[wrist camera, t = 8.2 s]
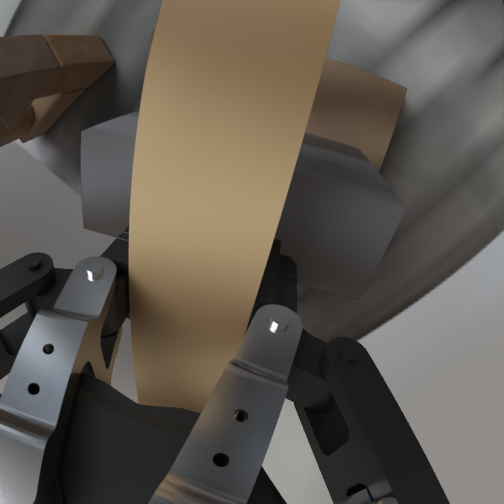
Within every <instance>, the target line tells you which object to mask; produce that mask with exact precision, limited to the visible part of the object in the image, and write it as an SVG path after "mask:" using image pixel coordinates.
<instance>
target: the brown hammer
mask: <svg viewBox="0 0 504 504" xmlns="http://www.w3.org/2000/svg"><path fill="white" fill-rule="evenodd" d="M114 63H115V62H114V60H113V58H112V57H111V55H110V53H109V52H108V50H107V48H106V47H105V45H104V43H103V42H102V40H101V38H100V37H99V36H93V35H67V34H49V35H44V36H43V35H42V34H36V35H18V36H7V37H0V147H1V146H4V145H6V144H8V143H10V142H12V141H14V140H17V139H19V138H20V140H21V142H22V143H25V142H27V141H29V140H31V139H34V138H36V137H38V136H41V135H43V134H45V133H46V132H47V131H48V130H49V129H50V127H51V126H52V125H53V124H54V123H55V122H56V121H57V120H58V118H59V117H60V116H61V115H62V114H63V113H64V112H65V111H66V110H67V109H68V108H69V107H70V106H71V105H72V103H73V102H74V101H75V100H76V99H77V98H78V97H79V96H80V95H81V94H82V93H83V92H84V91H85V90H86V88H87V87H90V86H91V85H92V84H93V83H94V82H95V81H96V80H97V79H98V78H99V77H101V76H102V75H103V74H104V73H105V72H106V71H107V70H108V69H110V68H111V67H112V66H113V65H114Z"/></svg>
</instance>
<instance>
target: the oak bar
mask: <svg viewBox="0 0 504 504" xmlns="http://www.w3.org/2000/svg"><path fill="white" fill-rule="evenodd" d="M339 4H340V0H163V3H162V6H161V10H160V14H159V17H158V21H157V25H156V29H155V33H154V37H153V42H152V46H151V51H150V55H149V60H148V65H147V70H146V75H145V81H144V86H143V92H142V98H141V104H140V111H139V118H138V125H137V133H136V141H135V150H134V160H133V171H132V184H131V199H130V219H129V301H130V321H131V335H132V349H133V359H134V369H135V378H136V386H137V394H138V402H139V404H141V405H151V406H162V407H175V408H183V409H187V410H191V411H194V412H198V413H202V411H203V409H204V407H205V405H206V403H207V401H208V400H209V398H210V396H211V394H212V392H213V390H214V388H215V386H216V384H217V383H218V381H219V379H220V377H221V375H222V373H223V371H224V369H225V367H226V365H227V364H228V362H229V361H230V360H232V359H233V358H234V356H235V354H236V352H237V350H238V348H239V346H240V344H241V342H242V340H243V338H244V335H245V331H246V328H247V325H248V322H249V319H250V315H251V312H252V309H253V306H254V303H255V299H256V296H257V293H258V290H259V286H260V283H261V280H262V276H263V273H264V270H265V267H266V263H267V260H268V257H269V253H270V250H271V247H272V243H273V240H274V237H275V233H276V230H277V227H278V223H279V220H280V217H281V213H282V210H283V206H284V203H285V200H286V196H287V193H288V189H289V186H290V182H291V179H292V176H293V172H294V169H295V165H296V162H297V158H298V155H299V151H300V148H301V144H302V141H303V137H304V134H305V130H306V126H307V123H308V119H309V116H310V112H311V109H312V105H313V101H314V98H315V94H316V90H317V87H318V83H319V79H320V76H321V72H322V68H323V65H324V61H325V57H326V54H327V50H328V46H329V42H330V38H331V35H332V31H333V27H334V23H335V19H336V16H337V12H338V8H339Z"/></svg>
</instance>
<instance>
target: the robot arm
mask: <svg viewBox="0 0 504 504" xmlns="http://www.w3.org/2000/svg"><path fill="white" fill-rule="evenodd" d="M280 248H281V241H280V240H276V239H274V240H273V243H272V247H271V250H270V253H269V257H268V260H267V263H266V267H265V270H264V273H263V276H262V280H261V283H260V286H259V290H258V293H257V296H256V299H255V303H254V306H253V309H252V312H251V315H250V319H249V322H248V325H247V328H246V331H245V335H244V338H243V340H242V342H241V344H240V346H239V348H238V350H237V352H236V354H235V356H234V358H233V359H232V360H230V361H229V362H228V364H227V365H226V367H225V369H224V371H223V373H222V375H221V377H220V379H219V381H218V383H217V384H216V386H215V388H214V390H213V392H212V394H211V396H210V398H209V400H208V401H207V403H206V405H205V407H204V409H203V411H202V413H198V412H194V411H191V410H187V409H183V408H175V407H162V406H151V405H141V404H138V403H135V402H134V401H132V400H130V399H129V398H127V397H126V396H124V395H123V394H122V393H120V392H119V391H117V390H116V389H114V388H113V387H111V375H112V371H113V366H114V362H115V358H116V354H117V350H118V346H119V342H120V339H121V335H122V324H123V322H124V320H125V319H126V318H128V319H130V301H129V225H128V227H127V228H126V229H125V230H124V231H123V232H122V233H121V234H120V235H119V236H118V239H115V241H114V242H113V243H112V244H111V245H110V246H109V247H108V248H107V250H106V251H105V252H104V253H103V254H102V255H101V256H100V257H90V258H86V259H84V260H82V261H80V262H79V263H78V264H77V265H76V266H75V268H74V269H59V268H54V266H53V261H52V258H51V257H50V256H49V255H47V254H45V253H31V254H28V255H26V256H24V257H22V258H20V259H18V260H16V261H15V262H13V263H11V264H9V265H7V266H5V267H3V268H2V269H0V318H1V317H2V316H4V315H5V314H7V313H9V312H10V311H11V310H13V309H15V308H16V307H18V306H20V305H21V304H23V303H25V305H26V308H27V310H28V312H27V313H26V314H24V315H23V316H21V317H20V318H18V319H16V320H15V321H14V322H12V323H10V324H9V325H7V326H6V327H4V328H3V329H1V330H0V380H1V379H2V378H3V377H5V376H6V375H7V374H9V373H10V374H9V377H8V379H7V382H6V384H5V387H4V390H3V392H2V394H0V504H287V503H286V502H285V500H284V499H283V498H282V496H281V494H280V493H279V492H278V490H277V489H276V487H275V486H274V484H273V483H272V481H271V480H270V478H269V477H268V475H267V474H266V472H265V470H264V469H263V467H262V463H263V460H264V458H265V455H266V452H267V449H268V447H269V444H270V441H271V438H272V435H273V433H274V430H275V427H276V424H277V421H278V418H279V414H280V412H281V409H282V406H283V403H284V400H285V398H286V399H288V400H291V401H293V402H294V406H295V408H296V411H297V414H298V416H299V419H300V421H301V424H302V426H303V429H304V431H305V434H306V436H307V439H308V441H309V444H310V446H311V449H312V451H313V454H314V456H315V459H316V461H317V464H318V466H319V469H320V471H321V474H322V476H323V479H324V481H325V483H326V486H327V488H328V491H329V493H330V496H331V498H332V501H333V504H450V503H449V501H448V499H447V497H446V495H445V493H444V491H443V489H442V487H441V485H440V483H439V481H438V479H437V477H436V475H435V473H434V471H433V469H432V467H431V465H430V463H429V461H428V459H427V457H426V455H425V453H424V451H423V450H422V448H421V446H420V444H419V442H418V440H417V438H416V436H415V434H414V433H413V431H412V429H411V427H410V425H409V423H408V422H407V420H406V418H405V416H404V414H403V412H402V411H401V409H400V407H399V405H398V403H397V402H396V400H395V398H394V396H393V395H392V393H391V391H390V389H389V388H388V386H387V384H386V382H385V381H384V379H383V377H382V376H381V374H380V372H379V370H378V369H377V367H376V365H375V363H374V362H373V360H372V358H371V357H370V355H369V353H368V352H367V350H366V349H365V348H364V347H363V346H362V345H361V344H360V343H359V342H357V341H355V340H353V339H351V338H347V337H337V338H334V339H332V340H331V341H330V342H329V343H326V342H324V341H322V340H320V339H318V338H315V337H314V336H312V335H310V334H309V333H307V332H306V331H305V330H304V329H303V325H302V321H301V319H300V318H299V316H298V315H297V266H296V264H295V262H294V261H293V259H292V257H289V256H285V255H281V254H280Z"/></svg>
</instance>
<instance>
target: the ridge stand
mask: <svg viewBox="0 0 504 504" xmlns="http://www.w3.org/2000/svg"><path fill="white" fill-rule="evenodd" d="M154 33H155V30H153V34H152V39H151V44H150V49H149V54H148V59H147V65H148V60H149V55H150V51H151V46H152V42H153V37H154ZM147 65H146V70H147ZM145 75H146V71H145ZM144 81H145V77H144ZM143 86H144V84H143ZM142 92H143V90H142ZM406 92H407V88H405V87H403V86H400V85H398V84H396V83H393V82H391V81H389V80H386V79H384V78H382V77H379V76H377V75H374V74H371V73H369V72H366V71H363V70H361V69H358V68H355V67H352V66H350V65H347V64H344V63H341V62H338V61H335V60H331V59H328V58H325V61H324V65H323V68H322V72H321V76H320V79H319V83H318V87H317V90H316V94H315V98H314V101H313V105H312V109H311V112H310V116H309V119H308V123H307V126H306V130H305V134H304V137H303V141H302V144H301V148H300V151H299V155H298V158H297V162H296V165H295V169H294V172H293V176H292V179H291V182H290V186H289V189H288V193H287V196H286V200H285V203H284V206H283V210H282V213H281V217H280V220H279V223H278V227H277V230H276V233H275V237H274V239H276V240H280V241H281V248H280V254H281V255H285V256H289V257H292V259H293V261H294V262H295V264H296V266H297V285H301V286H305V287H309V288H313V289H317V290H321V291H325V292H330V293H334V294H338V295H342V296H346V297H351V298H355V299H360V297H361V296H362V294H363V292H364V290H365V289H366V287H367V285H368V283H369V281H370V279H371V278H372V276H373V274H374V272H375V270H376V268H377V266H378V264H379V263H380V261H381V259H382V257H383V255H384V253H385V251H386V249H387V247H388V245H389V243H390V241H391V239H392V237H393V235H394V233H395V231H396V228H397V226H398V224H399V222H400V220H401V218H402V216H403V214H404V211H405V209H406V208H405V207H404V205H403V204H402V202H401V201H400V200H399V198H398V197H397V196H396V194H395V193H394V192H393V190H392V189H391V188H390V186H389V185H388V184H387V183H386V181H385V180H384V179H383V177H382V176H381V175H380V174H379V170H380V168H381V165H382V162H383V160H384V157H385V154H386V151H387V149H388V146H389V143H390V140H391V137H392V135H393V132H394V129H395V126H396V123H397V120H398V117H399V114H400V111H401V108H402V104H403V101H404V98H405V95H406ZM141 98H142V97H141ZM139 111H140V110H139ZM139 111H136V112H132V113H129V114H126V115H123V116H120V117H118V118H115V119H112V120H109V121H106V122H104V123H101V124H98V125H96V126H93V127H90V128H88V129H85V130H83V131H81V193H82V211H83V223H84V228H85V229H88V230H92V231H95V232H99V233H102V234H106V235H110V236H113V237H117V238H118V236H119V235H120V234H121V233H122V232H123V231H124V230H125V229H126V228H127V227H128V225H129V219H130V199H131V184H132V171H133V160H134V150H135V141H136V133H137V125H138V118H139Z"/></svg>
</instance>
